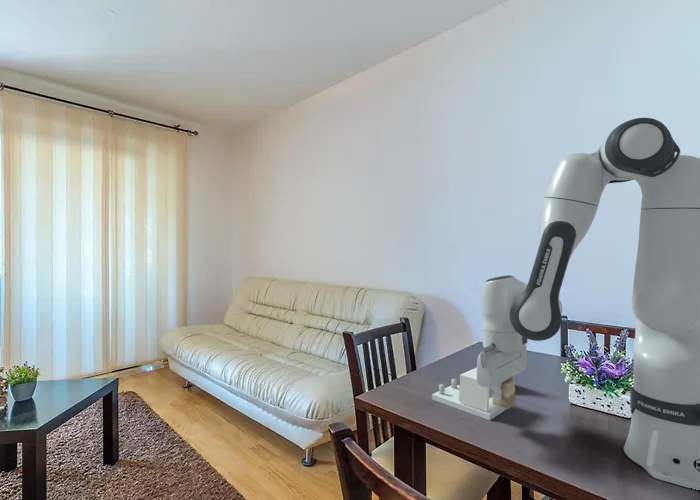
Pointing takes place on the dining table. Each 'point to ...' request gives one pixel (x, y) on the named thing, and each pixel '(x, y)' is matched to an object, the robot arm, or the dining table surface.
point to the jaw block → (506, 395)
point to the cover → (474, 391)
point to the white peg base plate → (453, 399)
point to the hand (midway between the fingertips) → (503, 395)
